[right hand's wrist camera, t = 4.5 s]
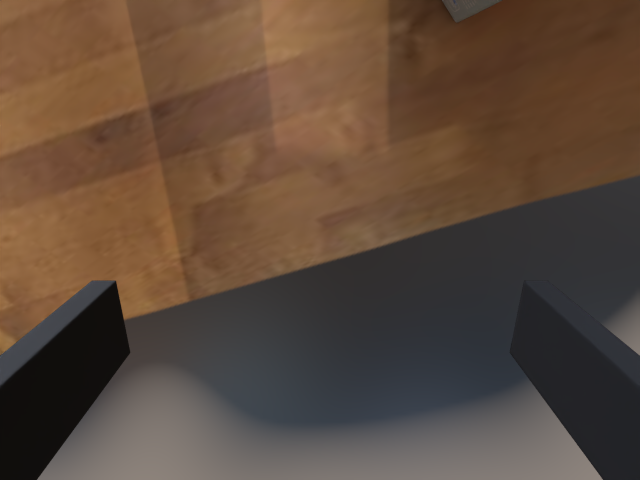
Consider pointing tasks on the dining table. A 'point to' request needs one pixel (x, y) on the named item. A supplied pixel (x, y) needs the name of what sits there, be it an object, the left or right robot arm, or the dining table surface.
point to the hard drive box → (466, 7)
